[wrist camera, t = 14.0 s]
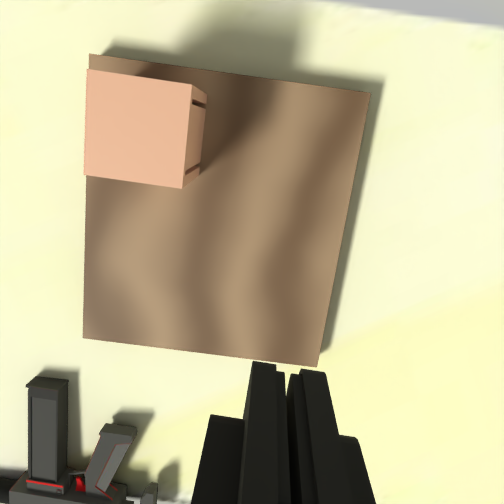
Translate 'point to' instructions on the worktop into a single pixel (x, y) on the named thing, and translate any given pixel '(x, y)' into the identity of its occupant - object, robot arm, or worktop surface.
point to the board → (228, 224)
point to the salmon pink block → (142, 129)
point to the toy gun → (55, 456)
